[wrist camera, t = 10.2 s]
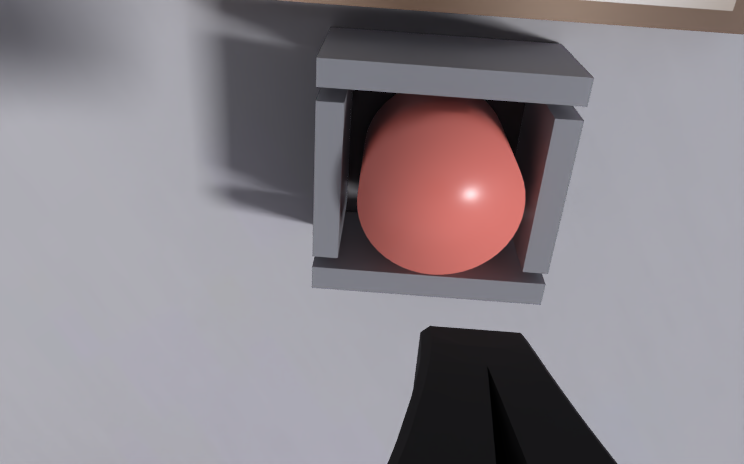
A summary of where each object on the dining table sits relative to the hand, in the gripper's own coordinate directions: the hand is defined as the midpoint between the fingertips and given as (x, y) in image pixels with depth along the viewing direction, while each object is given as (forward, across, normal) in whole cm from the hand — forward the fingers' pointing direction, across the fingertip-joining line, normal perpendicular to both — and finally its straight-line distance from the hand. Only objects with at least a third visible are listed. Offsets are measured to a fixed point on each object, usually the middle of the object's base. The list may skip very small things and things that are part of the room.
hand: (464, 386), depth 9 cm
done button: (+9, 0, 0) cm, 9 cm away
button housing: (+9, 0, 0) cm, 9 cm away
